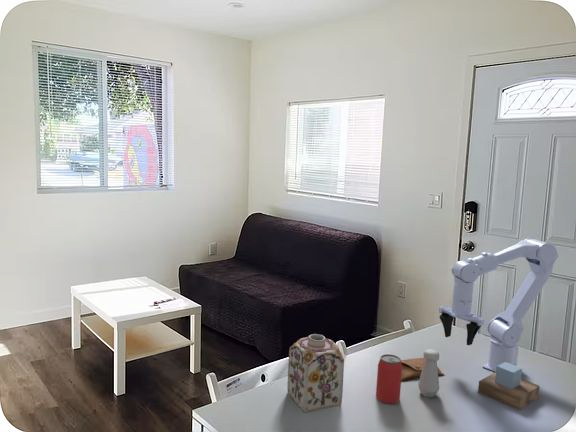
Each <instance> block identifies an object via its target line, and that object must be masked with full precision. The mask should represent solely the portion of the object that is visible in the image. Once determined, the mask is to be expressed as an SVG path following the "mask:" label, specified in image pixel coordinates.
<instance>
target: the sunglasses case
mask: <svg viewBox="0 0 576 432" xmlns="http://www.w3.org/2000/svg"><path fill="white" fill-rule="evenodd" d="M424 363H425V358H424V357H417V358H409V359H401V364H402V376H401V383H403V382H405V381H411V379H412V380H417V378H418V379H420V376H421V373H422V370H423V366H424ZM437 370H438V377H442V376H445V374H444V373H443V372H442V371H441V370H440V368H439V367H438V366H437ZM402 381H403V382H402Z"/></svg>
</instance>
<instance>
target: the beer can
mask: <svg viewBox="0 0 576 432" xmlns="http://www.w3.org/2000/svg"><path fill="white" fill-rule="evenodd" d="M401 360H402V359H401V357H399V356H397V355H395V354H388V353H387V354H382V355H381V356H380V357H379V361H378V364H377V373H376V376H377V377H376V386H375V387H376V388H375V397H376V398H377V400H378V401H379V402H381V403H383V404H388V405H393V404H396V403H399V401H400V399H401V388H402V387H401V385H402V382H401V376H402V364H401Z"/></svg>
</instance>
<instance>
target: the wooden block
mask: <svg viewBox="0 0 576 432" xmlns="http://www.w3.org/2000/svg"><path fill="white" fill-rule="evenodd" d="M495 375H496V372H493V373H491V374H490V375H487V376H486V377H484V378H482V379H480V380H478V387H477V394H481V395H482V396H486V397H487V398H490V399H492V400H495V401H497V402H499V403H501V404H504V405H506V406H509V407H511V408H513V409H515V410H517V411H520V410H522V409H523V408H525V407H526V406H527V405H529V404H530V403H532V402H533V401H535V400H536V399H537V398H539V395H540V394H539V392H540V385H538V384H536V383H533V382H531V381H529V380H526V379H524V378H521V382H520V385H519V386H517V387H515V388H513V389H509V388H507V387H505V386H502V385H500V384H498V383H495Z"/></svg>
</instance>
